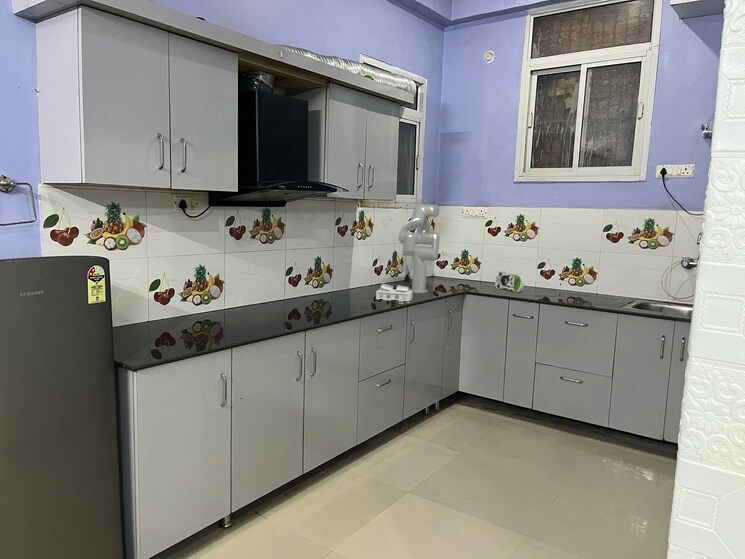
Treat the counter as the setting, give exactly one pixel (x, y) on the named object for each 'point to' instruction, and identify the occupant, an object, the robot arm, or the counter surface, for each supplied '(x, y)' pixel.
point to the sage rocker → (402, 288)
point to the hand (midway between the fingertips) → (407, 282)
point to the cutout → (509, 281)
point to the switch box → (394, 295)
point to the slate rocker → (387, 287)
